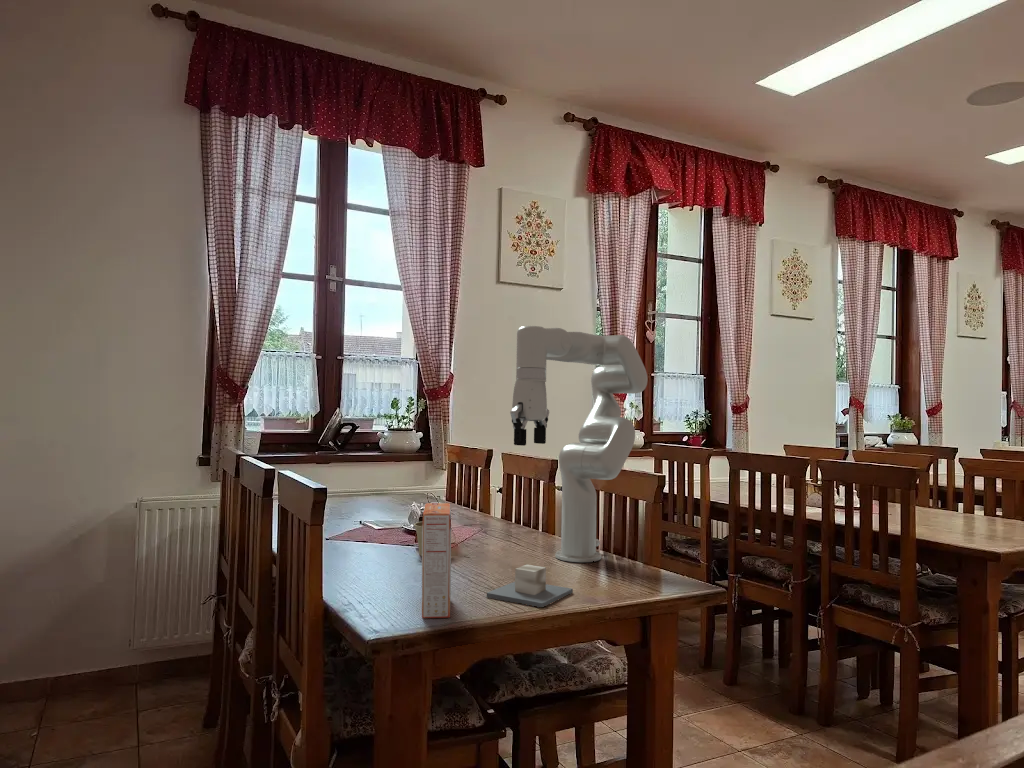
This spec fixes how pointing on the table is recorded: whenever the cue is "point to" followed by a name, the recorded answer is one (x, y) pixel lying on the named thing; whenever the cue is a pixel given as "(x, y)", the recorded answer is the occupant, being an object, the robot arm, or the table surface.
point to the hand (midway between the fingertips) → (530, 444)
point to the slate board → (529, 595)
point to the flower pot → (419, 535)
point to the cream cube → (530, 579)
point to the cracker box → (436, 560)
